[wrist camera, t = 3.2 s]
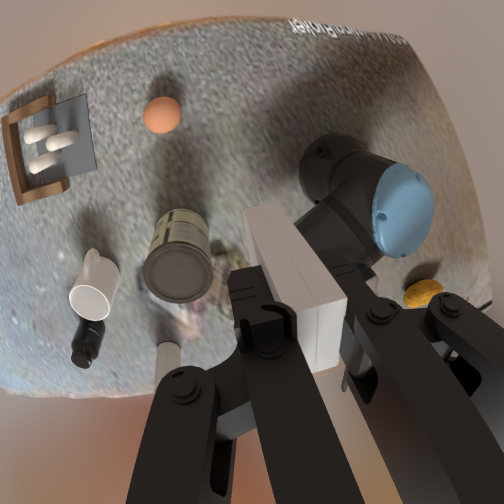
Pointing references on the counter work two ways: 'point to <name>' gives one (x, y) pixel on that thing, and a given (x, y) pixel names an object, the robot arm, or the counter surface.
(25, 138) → the pin
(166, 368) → the paper towel roll
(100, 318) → the mug
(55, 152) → the pin
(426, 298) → the potato
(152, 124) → the ball
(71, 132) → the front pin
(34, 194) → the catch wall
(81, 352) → the supplement bottle
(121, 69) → the counter surface
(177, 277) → the coffee can
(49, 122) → the pin deck mark
